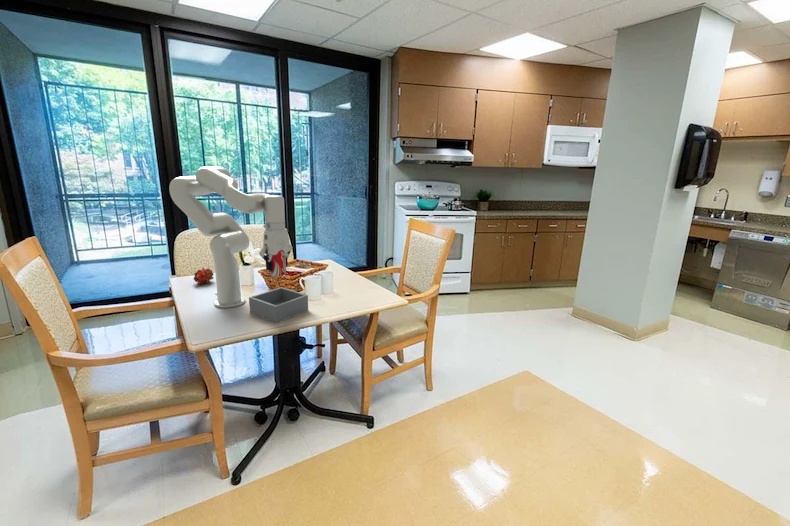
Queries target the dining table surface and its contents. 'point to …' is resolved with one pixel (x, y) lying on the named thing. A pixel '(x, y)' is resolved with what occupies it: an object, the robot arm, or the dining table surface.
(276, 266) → the soda can
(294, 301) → the crate
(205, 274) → the dragon fruit
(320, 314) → the dining table surface
